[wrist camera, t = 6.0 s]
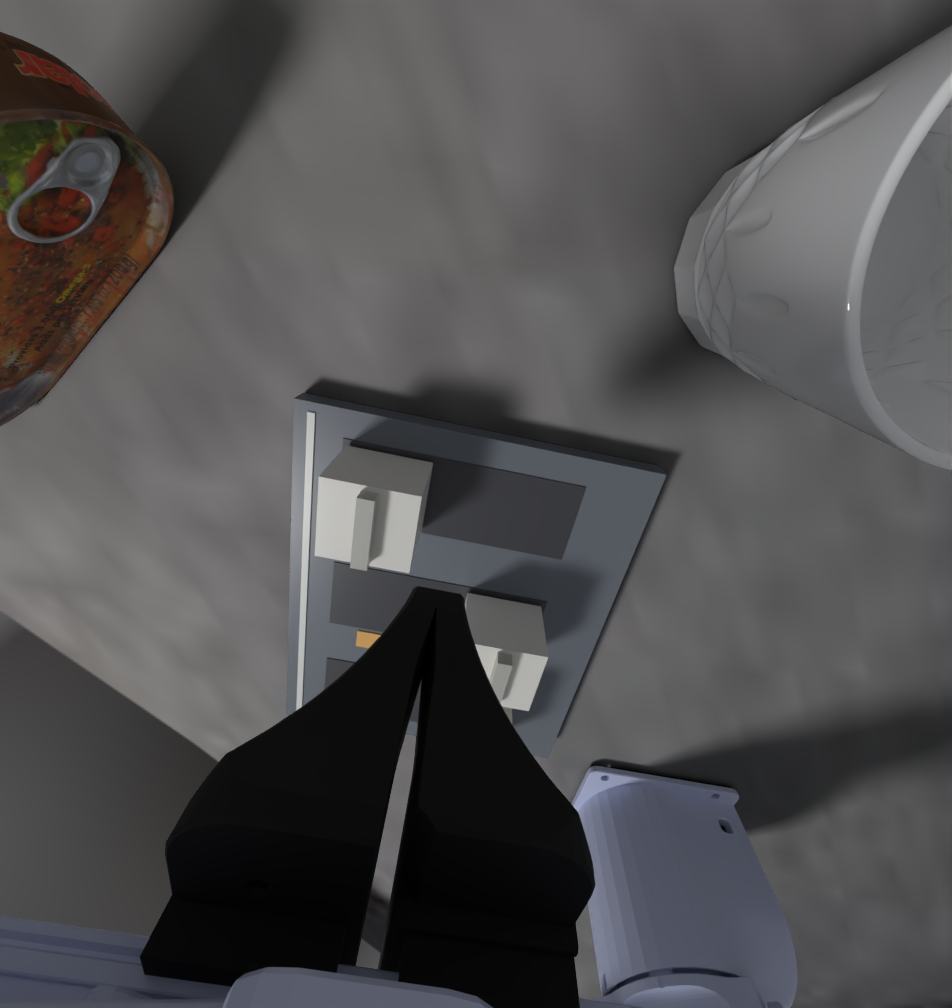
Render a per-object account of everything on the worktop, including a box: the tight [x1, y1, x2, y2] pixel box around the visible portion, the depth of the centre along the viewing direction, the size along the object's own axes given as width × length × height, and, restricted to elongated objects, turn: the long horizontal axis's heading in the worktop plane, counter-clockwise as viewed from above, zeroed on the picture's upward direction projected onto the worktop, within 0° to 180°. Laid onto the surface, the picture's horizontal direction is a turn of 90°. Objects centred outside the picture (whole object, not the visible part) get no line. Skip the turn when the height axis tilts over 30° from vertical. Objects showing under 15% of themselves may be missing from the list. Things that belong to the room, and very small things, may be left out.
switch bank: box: [287, 393, 666, 758], centre depth 22 cm, size 15×18×1 cm
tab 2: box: [465, 593, 548, 711], centre depth 20 cm, size 4×3×4 cm
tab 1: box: [315, 445, 433, 573], centre depth 17 cm, size 4×3×4 cm
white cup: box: [674, 25, 952, 471], centre depth 11 cm, size 8×8×10 cm
